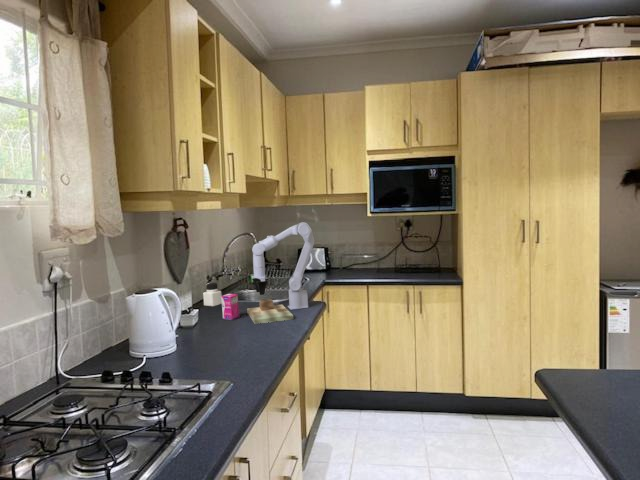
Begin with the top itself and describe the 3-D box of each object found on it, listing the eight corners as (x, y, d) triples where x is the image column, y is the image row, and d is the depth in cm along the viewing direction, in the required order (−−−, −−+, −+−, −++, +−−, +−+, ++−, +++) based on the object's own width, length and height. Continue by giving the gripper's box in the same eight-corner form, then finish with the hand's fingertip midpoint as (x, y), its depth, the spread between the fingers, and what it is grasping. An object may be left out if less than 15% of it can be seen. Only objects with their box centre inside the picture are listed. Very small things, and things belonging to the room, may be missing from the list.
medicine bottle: (222, 303, 256) (220, 282, 255) (213, 306, 250) (211, 284, 249) (213, 302, 260) (211, 281, 258) (203, 305, 254) (202, 283, 252)
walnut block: (271, 306, 234) (270, 298, 233) (273, 309, 228) (273, 301, 227) (259, 308, 232) (259, 300, 231) (261, 310, 226) (261, 302, 226)
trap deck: (282, 308, 237) (282, 304, 237) (293, 319, 214) (293, 315, 214) (247, 312, 232) (247, 308, 232) (254, 324, 209) (254, 319, 209)
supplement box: (222, 319, 221) (220, 296, 220) (230, 316, 226) (228, 293, 225) (232, 320, 218) (230, 296, 217) (239, 317, 223) (238, 294, 222)
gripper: (248, 265, 239) (249, 291, 241) (254, 269, 226) (255, 296, 227) (261, 264, 242) (262, 290, 243) (268, 268, 228) (269, 295, 230)
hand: (260, 293), depth 235 cm, fingers open, 7 cm apart
